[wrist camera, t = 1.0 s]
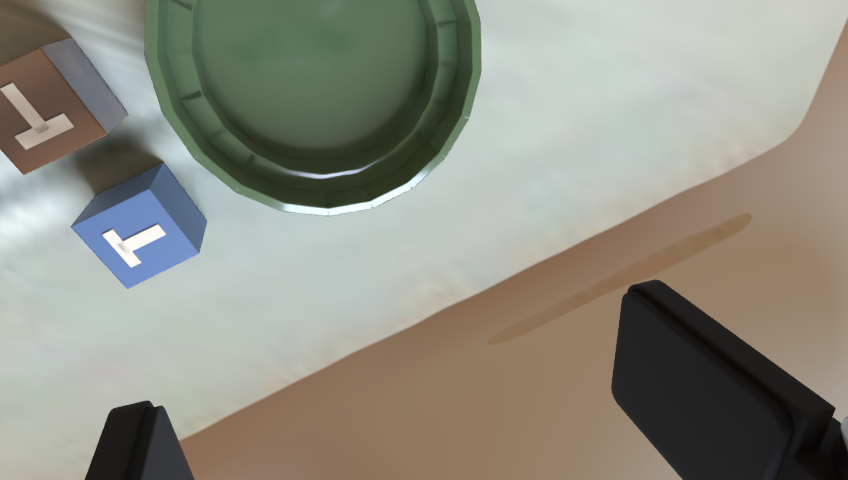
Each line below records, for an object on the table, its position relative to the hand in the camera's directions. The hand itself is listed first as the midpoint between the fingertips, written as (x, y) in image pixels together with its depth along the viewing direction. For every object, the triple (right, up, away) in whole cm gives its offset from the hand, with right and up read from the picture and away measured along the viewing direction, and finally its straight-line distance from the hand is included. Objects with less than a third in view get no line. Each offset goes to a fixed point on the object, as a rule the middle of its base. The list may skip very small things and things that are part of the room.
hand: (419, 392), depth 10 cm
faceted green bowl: (-7, +15, +23) cm, 29 cm away
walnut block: (-22, +12, +21) cm, 32 cm away
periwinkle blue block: (-19, +5, +25) cm, 31 cm away
